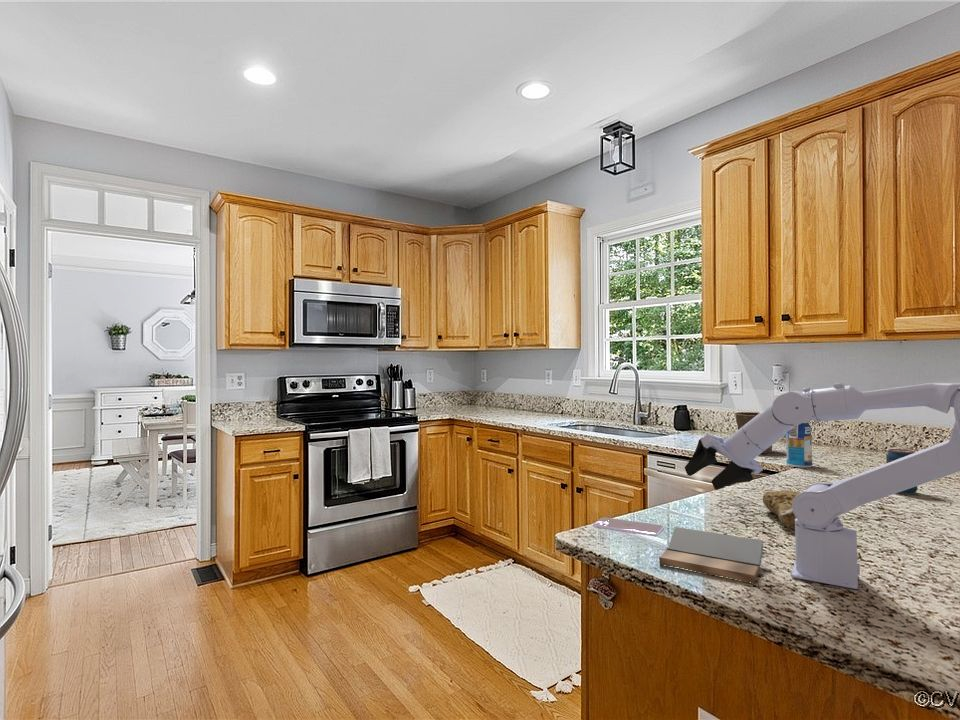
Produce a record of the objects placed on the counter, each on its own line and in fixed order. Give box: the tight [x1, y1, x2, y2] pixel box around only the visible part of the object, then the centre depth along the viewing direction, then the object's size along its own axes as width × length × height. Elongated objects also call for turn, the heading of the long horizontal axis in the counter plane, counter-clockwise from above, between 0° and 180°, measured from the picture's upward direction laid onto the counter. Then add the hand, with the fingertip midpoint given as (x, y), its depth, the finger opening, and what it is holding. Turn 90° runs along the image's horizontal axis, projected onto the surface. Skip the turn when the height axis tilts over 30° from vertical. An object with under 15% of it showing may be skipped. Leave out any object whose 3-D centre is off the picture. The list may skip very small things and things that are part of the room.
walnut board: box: [658, 547, 760, 584], centre depth 98 cm, size 16×6×2 cm, turn 56°
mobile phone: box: [592, 516, 665, 537], centre depth 125 cm, size 8×1×15 cm
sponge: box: [762, 489, 801, 530], centre depth 128 cm, size 13×8×20 cm
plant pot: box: [734, 411, 773, 454], centre depth 228 cm, size 16×16×16 cm
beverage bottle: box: [785, 421, 813, 469], centre depth 196 cm, size 8×8×20 cm
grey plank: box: [667, 526, 764, 571], centre depth 104 cm, size 16×6×2 cm, turn 56°
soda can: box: [885, 448, 918, 496], centre depth 155 cm, size 7×7×12 cm
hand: (700, 478), depth 109 cm, fingers open, 7 cm apart
